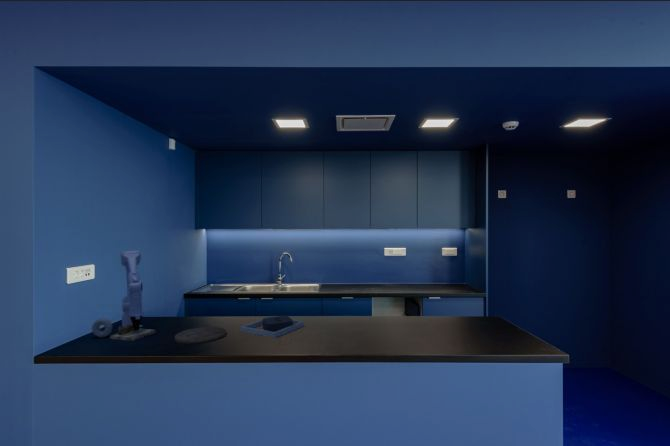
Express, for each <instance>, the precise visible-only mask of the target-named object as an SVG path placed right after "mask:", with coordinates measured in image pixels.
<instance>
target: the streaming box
mask: <svg viewBox="0 0 670 446" xmlns="http://www.w3.org/2000/svg"><path fill="white" fill-rule="evenodd" d="M262 320H263V325H262V330H265V331H271V332H276V331H279V330H281V329H284V328H287V327H289V326H292V325H293V320H294V319H293V318H291V317H289V315H280V316H270V317H264V318H262Z"/></svg>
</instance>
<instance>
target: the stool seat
mask: <svg viewBox="0 0 670 446" xmlns="http://www.w3.org/2000/svg"><path fill="white" fill-rule="evenodd" d="M128 325H130V324H128ZM125 326H127V325H125ZM123 327H124V326H123ZM156 332H157V331H156V329H150V328H149V329H148V328H139V330H137V331H131V332H128V333H125V334H123V335H118V332H117V333H115V334H112V335H109V339H110V340H118V341H131V342H133V341H136V339H137V340H139V339H142V338H144V336H145V337H147V335H148V336H151V335H153V334H155V333H156Z"/></svg>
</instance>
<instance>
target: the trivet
mask: <svg viewBox="0 0 670 446" xmlns="http://www.w3.org/2000/svg"><path fill="white" fill-rule="evenodd" d="M226 336H227V330H226V329H225V328H223V327H219V326H201V327H194V328H189V329H185V330H182V331H180V332H178V333H175V336H174V341H175V342H176V343H177V344H178V343H179V344H182V345H199V344H200V345H201V344H206V343H211V342H215V341H218V340H221V339H223V338H225V337H226Z"/></svg>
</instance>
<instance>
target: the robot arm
mask: <svg viewBox="0 0 670 446" xmlns="http://www.w3.org/2000/svg"><path fill="white" fill-rule="evenodd" d="M141 258H142V254H141V250H139V249H134V250H121V251H120V264H121V266H122V267H125V271H126V293H127V294H126V295H125V296H124V297H123V298H122V300H121V309H122V316H121V326H125V325H128V324H133V328H134V331H137V330H139V329H140V328H142V327H144V325H142V324H141V321H142V320H143V316H142V315H143V314H145V311H143V301H142V300H143V296H142V293H143V290H144V289H143V287H144V286H143V285H144V284H143V281H142V279H141V275H140V274H141V273H140V272H139V271H138V267H137V266H138V265H140V263H141Z"/></svg>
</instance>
